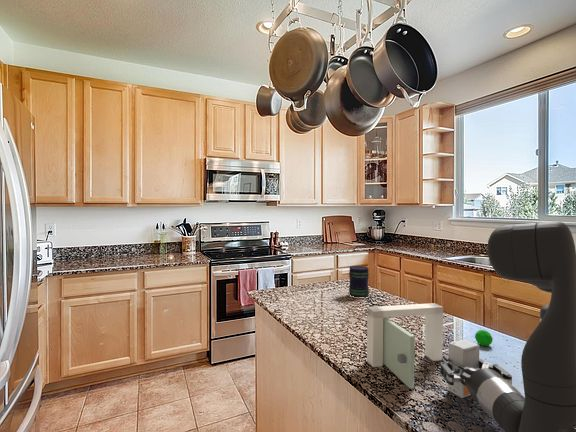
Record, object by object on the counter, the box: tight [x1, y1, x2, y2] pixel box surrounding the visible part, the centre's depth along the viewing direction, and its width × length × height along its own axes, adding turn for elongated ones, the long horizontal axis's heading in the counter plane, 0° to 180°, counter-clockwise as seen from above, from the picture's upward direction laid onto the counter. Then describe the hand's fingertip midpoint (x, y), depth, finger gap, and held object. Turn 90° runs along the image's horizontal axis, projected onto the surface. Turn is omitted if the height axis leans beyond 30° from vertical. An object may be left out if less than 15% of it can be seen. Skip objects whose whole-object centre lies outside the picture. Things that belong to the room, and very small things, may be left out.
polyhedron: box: [474, 329, 494, 347], centre depth 109 cm, size 5×5×5 cm
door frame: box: [366, 302, 444, 368], centre depth 97 cm, size 22×4×16 cm, turn 102°
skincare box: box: [447, 339, 480, 399], centre depth 81 cm, size 6×4×12 cm
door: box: [383, 317, 416, 389], centre depth 89 cm, size 16×3×13 cm, turn 12°
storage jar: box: [348, 265, 370, 298], centre depth 168 cm, size 10×10×15 cm
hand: (459, 359), depth 83 cm, fingers closed on skincare box, 7 cm apart
